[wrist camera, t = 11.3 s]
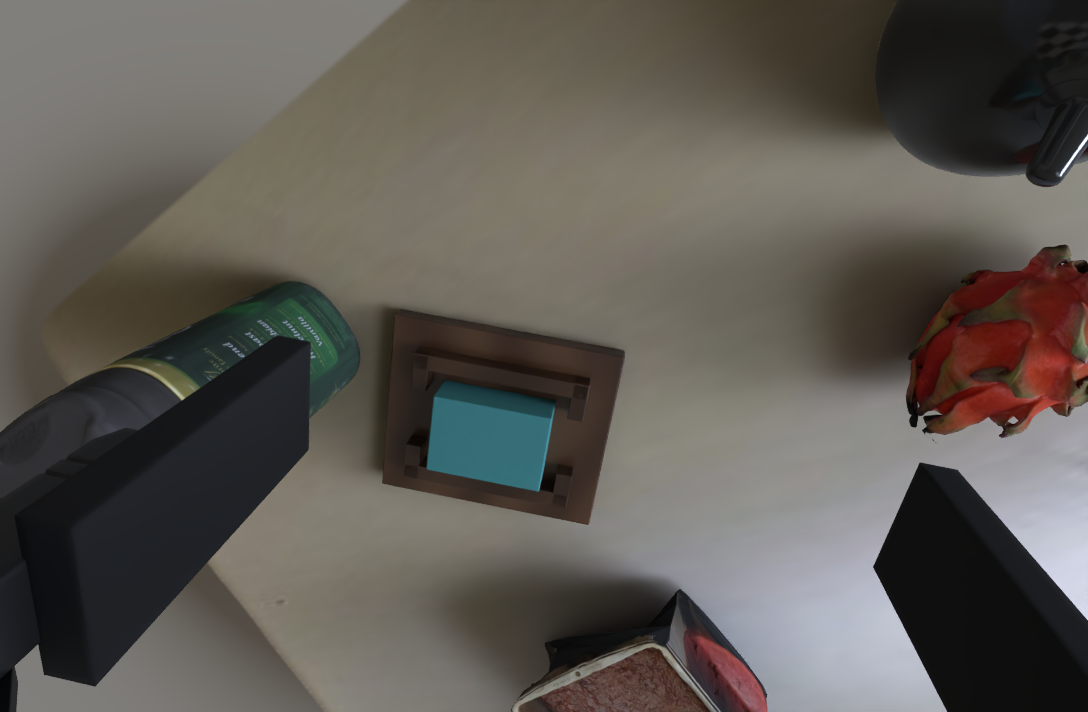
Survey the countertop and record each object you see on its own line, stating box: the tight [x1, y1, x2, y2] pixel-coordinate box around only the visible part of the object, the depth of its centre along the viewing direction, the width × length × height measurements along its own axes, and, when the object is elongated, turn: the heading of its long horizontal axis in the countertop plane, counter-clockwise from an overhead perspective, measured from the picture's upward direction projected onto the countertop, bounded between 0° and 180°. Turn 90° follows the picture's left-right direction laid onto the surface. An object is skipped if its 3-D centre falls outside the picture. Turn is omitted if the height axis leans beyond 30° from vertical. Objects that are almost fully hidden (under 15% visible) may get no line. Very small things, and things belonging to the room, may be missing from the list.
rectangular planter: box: [511, 589, 767, 712], centre depth 44 cm, size 14×18×10 cm
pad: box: [426, 380, 556, 491], centre depth 40 cm, size 7×5×3 cm
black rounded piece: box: [875, 0, 1088, 187], centre depth 25 cm, size 10×10×15 cm
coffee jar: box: [0, 282, 360, 499], centre depth 34 cm, size 10×8×19 cm
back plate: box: [382, 310, 625, 525], centre depth 41 cm, size 14×12×2 cm
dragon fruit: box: [906, 245, 1088, 443], centre depth 34 cm, size 8×8×12 cm
